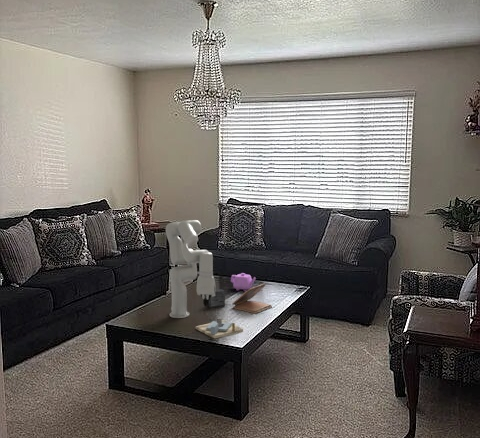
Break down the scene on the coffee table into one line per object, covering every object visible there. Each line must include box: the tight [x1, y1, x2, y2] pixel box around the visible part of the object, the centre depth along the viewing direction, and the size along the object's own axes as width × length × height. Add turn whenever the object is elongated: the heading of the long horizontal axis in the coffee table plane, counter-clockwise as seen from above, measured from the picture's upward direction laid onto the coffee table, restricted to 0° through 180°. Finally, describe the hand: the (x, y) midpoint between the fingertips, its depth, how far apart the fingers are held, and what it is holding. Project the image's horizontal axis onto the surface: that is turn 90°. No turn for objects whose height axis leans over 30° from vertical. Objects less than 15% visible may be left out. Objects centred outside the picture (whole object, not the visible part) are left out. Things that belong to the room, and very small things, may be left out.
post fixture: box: [195, 317, 244, 339], centre depth 300 cm, size 20×20×7 cm
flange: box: [206, 320, 233, 335], centre depth 297 cm, size 19×12×4 cm, turn 166°
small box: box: [207, 289, 226, 308], centre depth 349 cm, size 11×6×10 cm, turn 109°
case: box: [232, 283, 273, 314], centre depth 344 cm, size 20×21×16 cm
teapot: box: [230, 272, 257, 292], centre depth 390 cm, size 20×12×13 cm, turn 69°
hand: (206, 305), depth 291 cm, fingers closed
